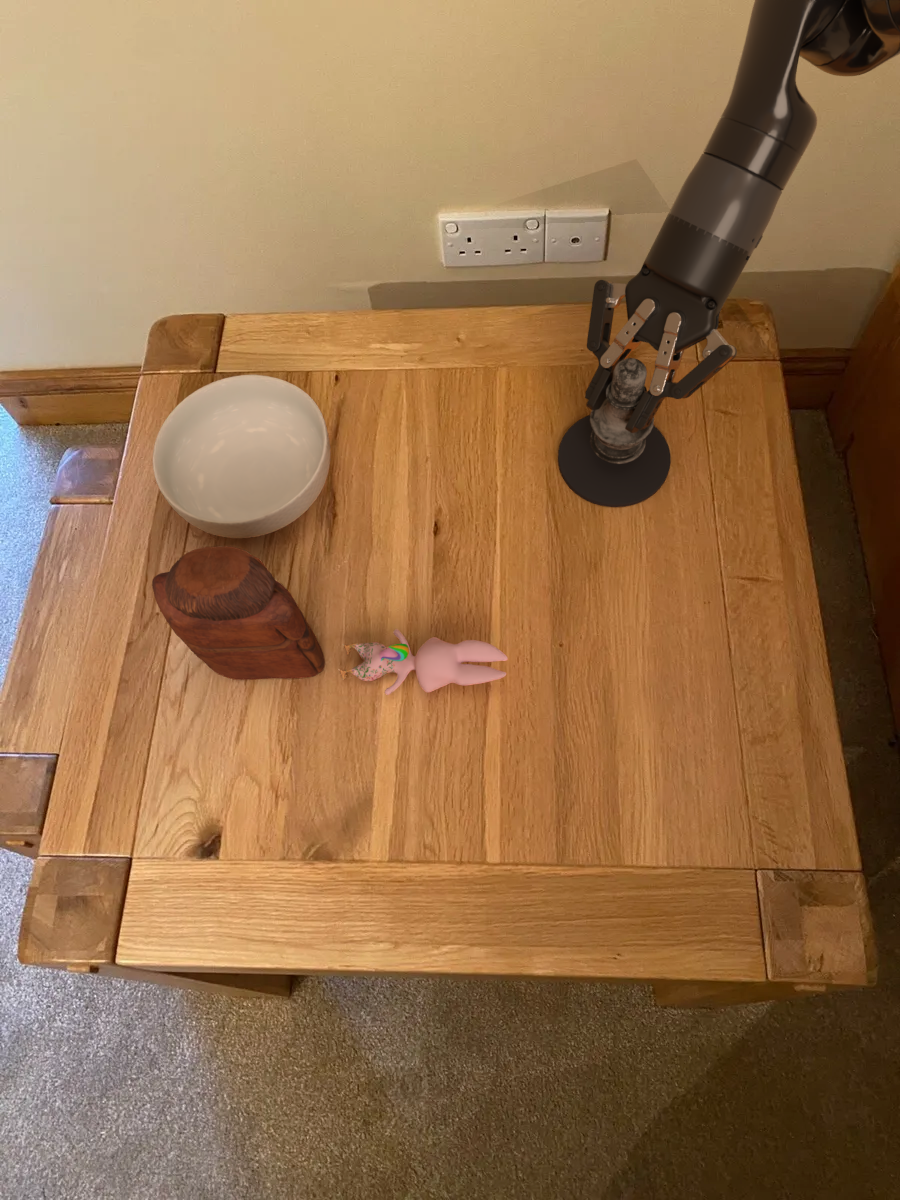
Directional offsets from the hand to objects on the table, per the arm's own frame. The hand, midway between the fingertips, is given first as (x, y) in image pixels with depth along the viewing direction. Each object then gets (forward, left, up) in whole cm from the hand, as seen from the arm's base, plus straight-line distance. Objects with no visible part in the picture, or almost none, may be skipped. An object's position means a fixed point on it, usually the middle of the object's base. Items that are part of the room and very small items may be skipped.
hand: (612, 418), depth 79 cm
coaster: (-2, -1, -9) cm, 9 cm away
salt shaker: (-2, -1, -6) cm, 6 cm away
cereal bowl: (+32, -12, -9) cm, 36 cm away
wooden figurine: (+36, +6, -9) cm, 38 cm away
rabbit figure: (+23, +13, -9) cm, 28 cm away
